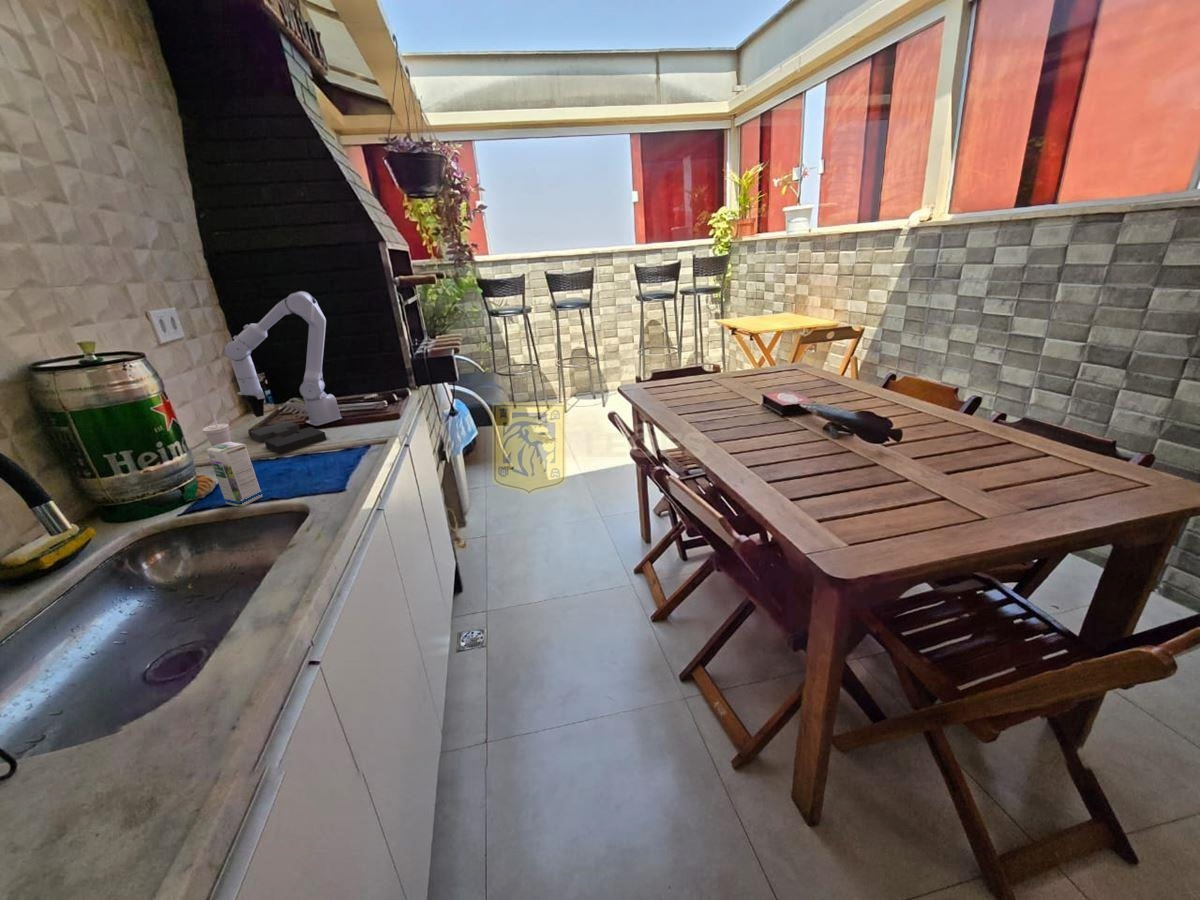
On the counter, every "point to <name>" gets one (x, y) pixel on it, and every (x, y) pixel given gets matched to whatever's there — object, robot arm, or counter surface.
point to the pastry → (204, 486)
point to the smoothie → (217, 433)
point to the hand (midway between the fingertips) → (259, 416)
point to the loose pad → (275, 431)
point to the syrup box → (234, 472)
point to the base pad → (295, 440)
